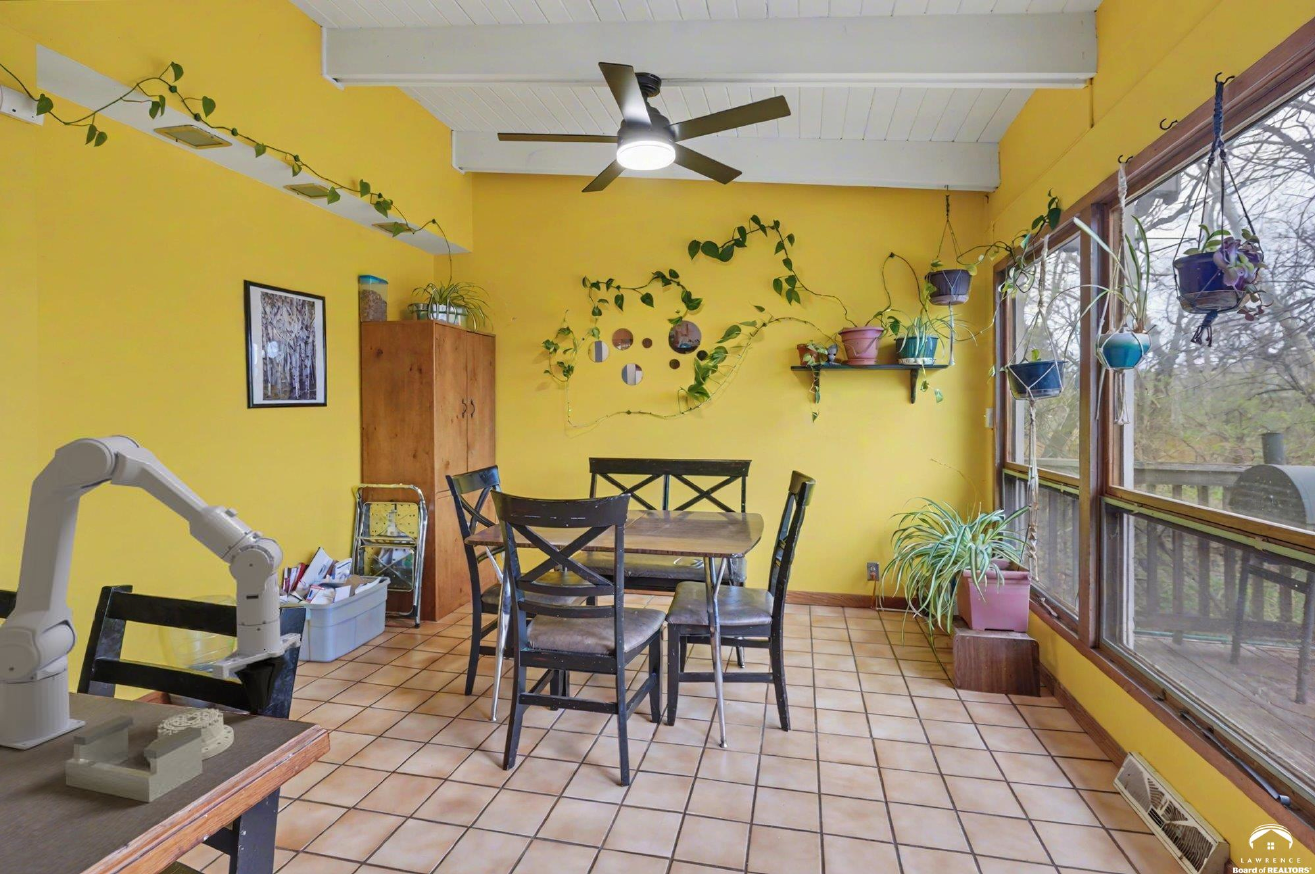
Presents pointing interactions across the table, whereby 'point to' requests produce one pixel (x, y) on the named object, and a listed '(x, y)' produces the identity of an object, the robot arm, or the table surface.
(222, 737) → the mechanical component
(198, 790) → the table surface
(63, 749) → the table surface
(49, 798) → the table surface
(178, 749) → the bracket
